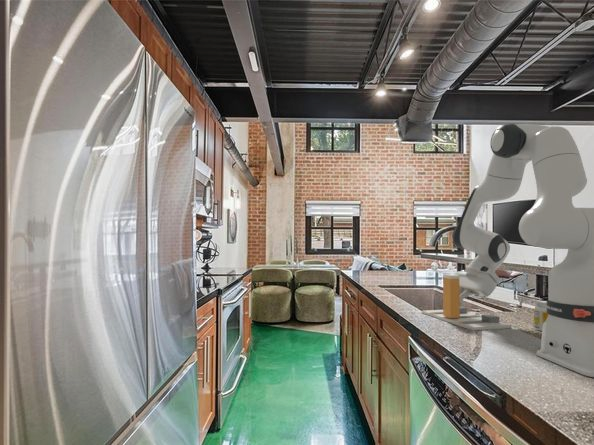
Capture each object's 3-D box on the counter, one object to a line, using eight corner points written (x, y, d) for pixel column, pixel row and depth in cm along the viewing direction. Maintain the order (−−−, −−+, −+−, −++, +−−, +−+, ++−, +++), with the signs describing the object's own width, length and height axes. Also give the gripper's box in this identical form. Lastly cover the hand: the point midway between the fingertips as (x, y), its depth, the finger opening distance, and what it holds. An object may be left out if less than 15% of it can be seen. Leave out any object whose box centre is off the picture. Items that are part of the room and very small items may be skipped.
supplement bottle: (531, 329, 120) (531, 301, 121) (537, 327, 124) (536, 299, 124) (550, 333, 116) (550, 303, 117) (555, 330, 120) (555, 301, 120)
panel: (511, 327, 122) (511, 319, 122) (472, 330, 118) (472, 321, 118) (455, 311, 149) (455, 304, 149) (422, 313, 145) (422, 305, 145)
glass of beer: (460, 317, 131) (459, 275, 132) (450, 318, 130) (450, 275, 131) (452, 315, 135) (452, 274, 136) (442, 315, 134) (442, 274, 135)
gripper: (454, 264, 146) (434, 289, 143) (494, 269, 126) (471, 298, 123) (464, 275, 147) (444, 300, 144) (504, 281, 127) (482, 310, 124)
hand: (457, 299), depth 133 cm, fingers closed, pressing on glass of beer
